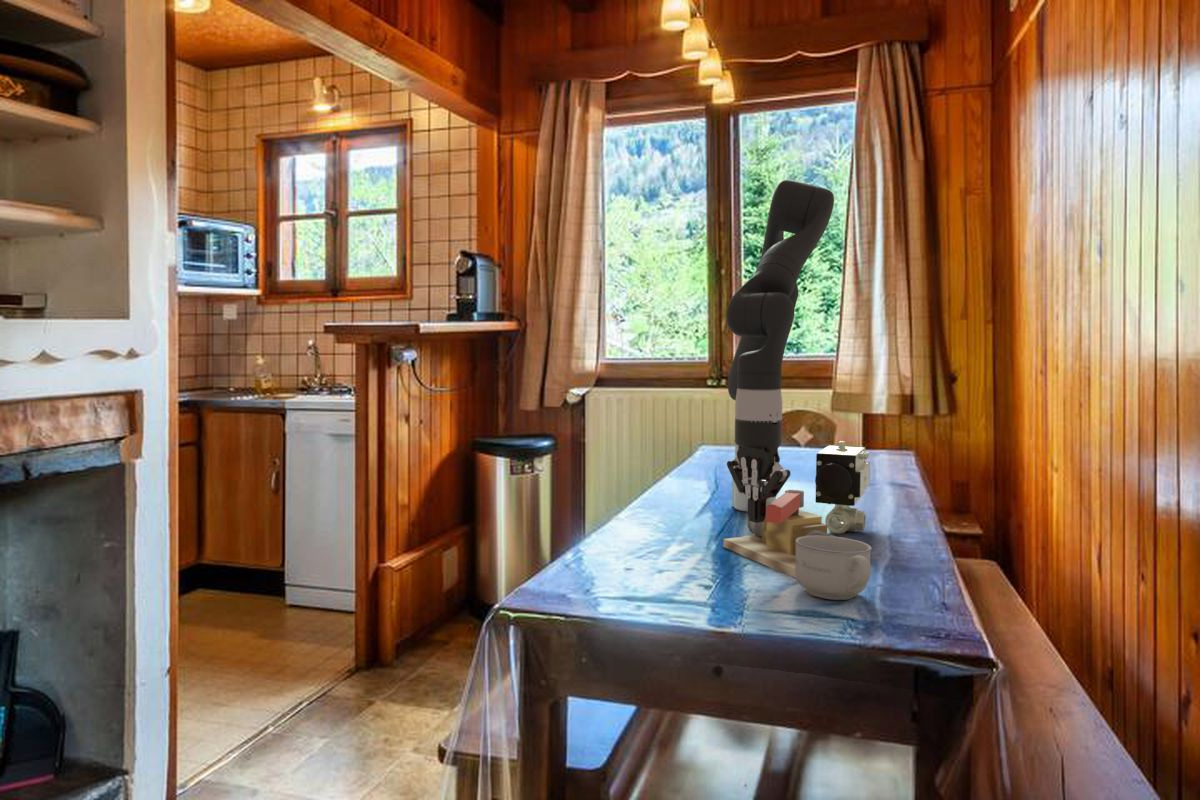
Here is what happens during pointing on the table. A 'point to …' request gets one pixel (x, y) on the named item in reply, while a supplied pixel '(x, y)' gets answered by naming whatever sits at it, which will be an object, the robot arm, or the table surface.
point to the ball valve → (842, 485)
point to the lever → (784, 506)
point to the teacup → (832, 566)
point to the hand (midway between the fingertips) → (756, 521)
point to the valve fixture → (777, 540)
